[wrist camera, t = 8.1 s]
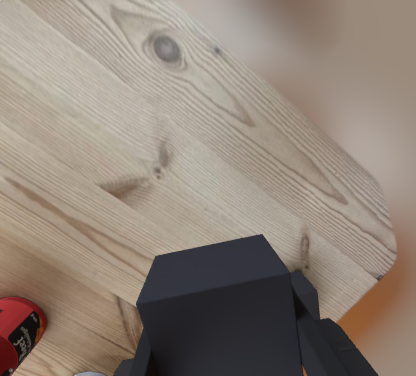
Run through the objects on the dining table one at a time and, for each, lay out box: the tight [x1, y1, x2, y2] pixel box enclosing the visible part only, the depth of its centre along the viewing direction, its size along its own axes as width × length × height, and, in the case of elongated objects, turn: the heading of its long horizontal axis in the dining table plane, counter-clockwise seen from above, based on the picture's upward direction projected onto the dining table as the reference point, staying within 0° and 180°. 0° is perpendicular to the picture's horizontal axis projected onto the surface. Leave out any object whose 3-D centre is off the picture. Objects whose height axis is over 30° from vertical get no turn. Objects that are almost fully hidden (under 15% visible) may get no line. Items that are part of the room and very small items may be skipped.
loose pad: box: [136, 234, 304, 376], centre depth 12 cm, size 7×10×4 cm, turn 11°
